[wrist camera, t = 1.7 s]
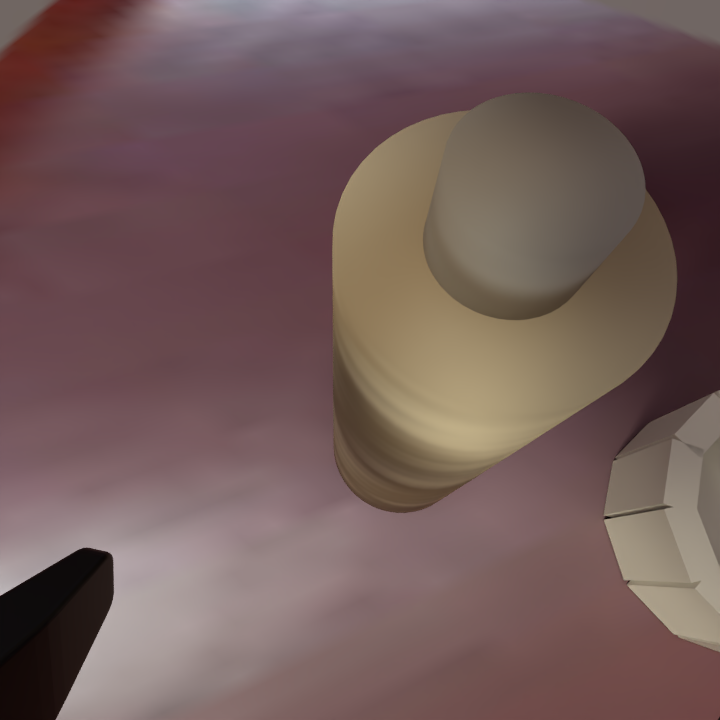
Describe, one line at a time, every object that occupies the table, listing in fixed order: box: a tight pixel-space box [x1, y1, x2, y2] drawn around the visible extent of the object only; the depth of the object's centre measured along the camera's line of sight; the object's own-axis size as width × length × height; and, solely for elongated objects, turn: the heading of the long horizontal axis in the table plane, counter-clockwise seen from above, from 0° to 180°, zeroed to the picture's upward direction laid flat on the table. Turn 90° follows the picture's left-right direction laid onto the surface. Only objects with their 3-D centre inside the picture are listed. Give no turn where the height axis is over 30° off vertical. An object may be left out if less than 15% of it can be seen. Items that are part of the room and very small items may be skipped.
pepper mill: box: [333, 93, 677, 513], centre depth 14 cm, size 5×5×16 cm
